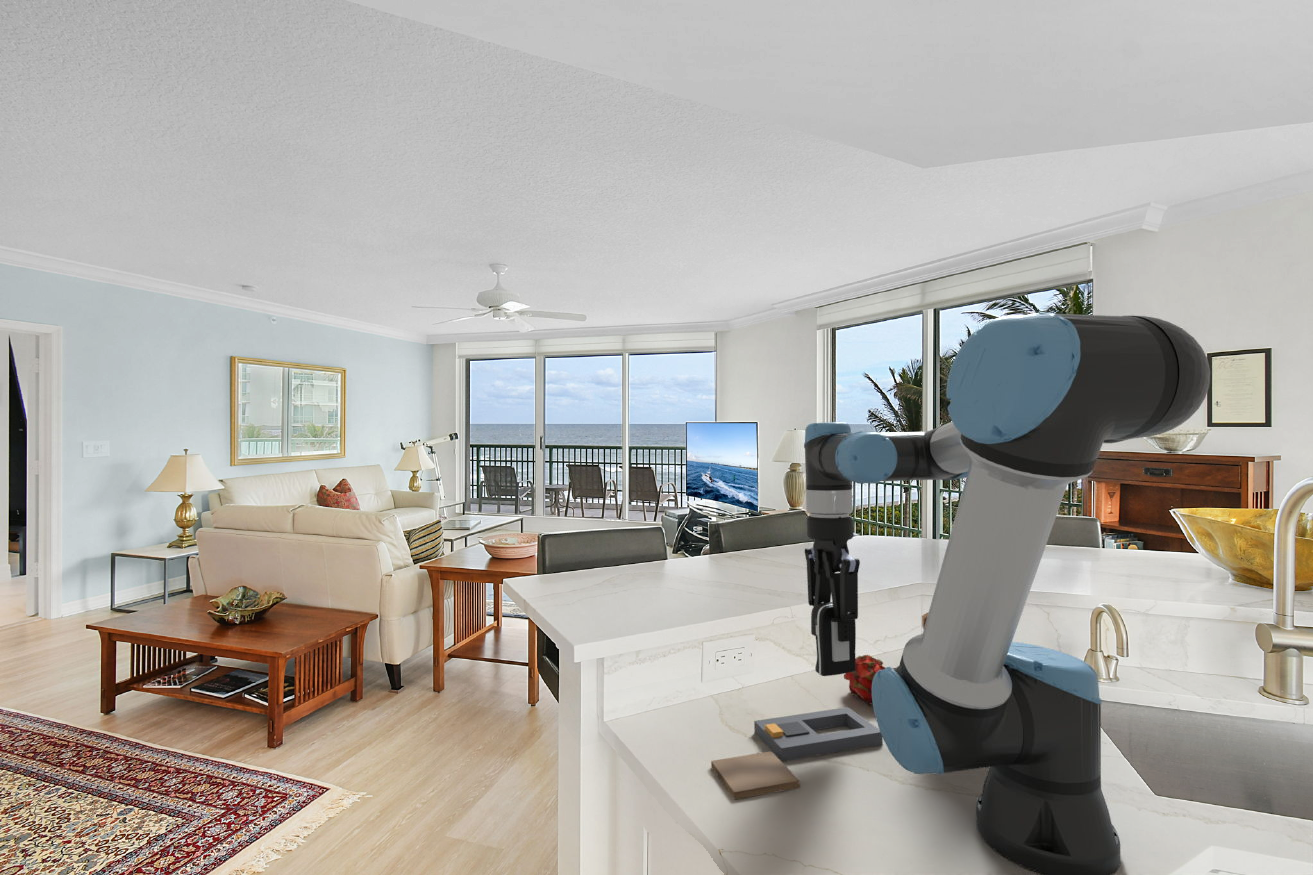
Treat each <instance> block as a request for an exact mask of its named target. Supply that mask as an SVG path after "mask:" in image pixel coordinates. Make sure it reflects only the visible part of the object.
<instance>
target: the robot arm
mask: <svg viewBox="0 0 1313 875" xmlns="http://www.w3.org/2000/svg"><path fill="white" fill-rule="evenodd" d="M947 377H948V378H947V384H946V399H948V400H949V401H950V403H949V405H948V406H947V411H948V412H947V413H948V414H949V418H950V420H951V422H950V421H949V422H948V423H945V424H943V425H941V426H938V427H936V428H933V429H930V430H926V431H897V432H896V431H895V432H894V431H892V432H890V431H888V432H886V431H885V432H884V431H881V432H880V431H879V432H874V431H855V432H853V433H852V430H851V428H852V427H851V425H850V424H849V423H847V422H842V421H841V422H840V421H837V422H834V421H833V422H831V421H830V422H828V421H827V422H812V423H808V424H807V425H806V427H805V431H804V443H803V448H804V458H805V459H804V460H805V462H804V464H805V506H806V507H805V508H806V513H807V514H809V515H808V516H807V517H806V536H807V537H808V538H809V539H810V540H814V541H813V544H812V545H813V546H812V547H808V548H804V555H805V561H806V576H807V577H806V580H807V600H808V602H807V604H808V605H809V606H811V607H812V608H813V607H814V606H815V605H817V604H820V603H827V602H832V603H833V610H834V618H830V619H831V627H832V660H833V661H834V662H837V661H845V660H849V621H850V620H853V619H855V620H858V617H859V588H858V587H859V576H858V575H859V569H860V564H861V562H860V559H859V558H853V556H851V555H850V550H849V547H848V541H849V540H852V539H853V538H854V537H855V536H854V535H855V534H854V517H852V516H851V514H852V513H853V511H854V510H853V509H854V506H853V498H854V496H853V483H856V484H861V485H863V484H876V483H877V484H878V483H880V482H901V481H906V482H907V481H932V480H933V481H934V480H935V481H938V480H939V481H940V480H941V481H954V480H957V479H958V480H960V479H965V481H964V483H963V484H964V485H963V488H962V492H961V495H960V499H959V502H958V506H957V509H956V512H955V517H954V521H953V523H952V528H951V531H950V535H949V538H948V542H947V545H946V547H945V548H946V549H945V554H944V557H943V559H942V563H941V566H940V567H941V568H940V571H939V574H938V578H937V581H936V584H935V585H936V586H935V588H934V592H933V596H932V599H931V603H930V606H929V610H928V612H929V613H928V612H927V613H928V616H927V620H926V624H925V627H924V629H923V632H922V633H920V634H917V635H915V636H914V637H912V638H910V639H909V640H908V641H907V642H906V643H905V645H904V648H903V651H902V655H901V658H900V661H899V665H898V666H896V667H894V668H893V667H891V666H886V667H885V669H883V670H879V671H878V672H877V673H876V674H875V676H874V678H873V682H872V702H873V705H872V707H873V711H874V712H873V713H874V717H875V719H876V723H877V727H878V729H879V730H880V732H881V734H882V739H883V741H884V743H885V745H886V747H887V749H888V751H889V753H890V754H891V756H892V757H893V758H894V760H895V761H896V762H897V763H898V764H899V765H900V766H901V767H902V768H903V769H904V770H906V771H908V772H910V773H912V774H913V773H914V774H916V775H923V774H924V775H927V774H935V775H938V776H942V775H943V774H944V773H951V772H952V773H954V772H961V771H969V770H977V769H984V768H985V769H986V768H989V769H988V772H987V775H986V778H985V779H984V783H983V787H982V790H981V794H980V795H979V796H978V798H977V802H976V806H975V808H976V809H975V814H976V815H975V819H976V820H975V822H976V828H977V831H978V833H979V835H980V836H981V838H982V839H983V840H984V841H985V843H987V844H988V846H989V847H990V848H992V849H993V850H995V852H997V853H998V854H1000V855H1001V856H1002V857H1005V858H1006V859H1007V860H1009V861H1012V862H1013V863H1015V864H1017V865H1019V866H1022V867H1024V868H1027V869H1028V870H1031V871H1034V872H1036V873H1039V874H1043V875H1114V874H1116V872H1117V871H1118V870H1119V868H1120V866H1121V863H1122V862H1121V858H1122V857H1121V841H1120V837H1119V835H1118V831H1117V830H1116V828H1115V825H1113V824H1112V823H1113V822H1112V819H1111V815H1110V812H1109V808H1108V805H1107V802H1106V799H1105V796H1104V794H1103V791H1102V777H1101V776H1102V775H1101V774H1102V765H1101V763H1102V760H1101V759H1102V758H1101V757H1102V756H1101V755H1102V754H1101V752H1102V751H1101V750H1102V748H1101V747H1102V744H1101V743H1102V741H1101V738H1102V737H1101V734H1102V733H1101V732H1102V729H1101V728H1102V727H1101V726H1102V725H1101V724H1102V723H1101V721H1102V720H1101V716H1102V715H1101V714H1102V713H1101V712H1102V711H1101V709H1102V706H1101V705H1102V703H1103V702H1102V699H1101V698H1100V685H1099V678H1098V674H1097V672H1096V671H1095V669H1094V668H1093V666H1092V665H1090V664H1088V663H1087V662H1086V661H1084V660H1082V659H1080V658H1078V657H1076V656H1073V655H1071V654H1069V653H1067V652H1066V653H1065V652H1062V651H1059V650H1055V649H1053V648H1049V647H1046V646H1045V647H1044V646H1040V645H1036V644H1031V643H1024V642H1019V641H1013V640H1014V637H1015V634H1016V631H1017V629H1018V625H1019V623H1020V620H1021V616H1022V614H1023V611H1024V609H1025V606H1026V604H1027V600H1028V597H1029V594H1030V591H1031V588H1032V586H1033V583H1034V580H1035V577H1036V574H1037V571H1038V569H1039V566H1040V564H1041V560H1042V558H1043V555H1044V551H1045V550H1046V546H1047V543H1048V540H1049V538H1050V536H1051V535H1050V534H1051V532H1052V530H1053V527H1054V523H1055V520H1056V518H1057V516H1058V512H1059V509H1060V506H1061V504H1062V501H1063V498H1064V495H1065V492H1066V490H1067V486H1068V485H1069V484H1071V483H1074V482H1076V481H1080V480H1082V479H1085V478H1087V477H1089V476H1090V475H1092V473H1093V471H1094V468H1095V466H1096V462H1097V461H1098V458H1099V455H1100V452H1101V449H1102V447H1103V445H1104V444H1106V445H1107V444H1115V443H1120V442H1124V441H1128V440H1134V439H1139V438H1140V439H1143V438H1148V437H1153V436H1159V435H1161V434H1164V433H1167V432H1170V431H1173V430H1174V429H1176V428H1178V427H1179V426H1181V425H1183V424H1185V422H1186V421H1188V420H1189V419H1191V418H1192V416H1193V415H1194V414H1195V413H1196V412H1197V411H1198V410H1199V409H1200V407H1201V406H1202V404H1203V403H1204V401H1205V399H1206V397H1207V394H1208V391H1209V388H1210V382H1211V369H1210V364H1209V359H1208V358H1207V355H1206V353H1205V351H1204V349H1203V347H1202V346H1201V344H1200V343H1199V342H1198V341H1197V339H1196V338H1195V337H1194V336H1192V335H1191V334H1190V333H1188V331H1186V330H1185V329H1183V328H1182V327H1181V326H1179V325H1176V324H1174V323H1172V322H1170V321H1167V320H1164V319H1161V318H1158V317H1151V316H1147V315H1146V316H1145V315H1100V314H1099V315H1098V314H1097V315H1096V314H1075V313H1074V314H1072V313H1070V314H1067V313H1048V312H1046V311H1045V312H1044V311H1042V312H1033V313H1030V314H1024V315H1023V314H1016V315H1007V316H1006V315H1005V316H1001V317H997V318H993V319H992V320H990V321H988V322H986V323H985V324H984V325H983V326H982V327H980V328H978V329H977V330H975V331H973V332H972V334H970V336H969V337H968V338H967V339H966V340H965V341H964V343H963V344H962V345H961V347H960V348H959V350H958V351H957V354H956V355H955V358H954V360H953V362H952V364H951V367H950V370H949V374H948V376H947Z"/></svg>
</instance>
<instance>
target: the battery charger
mask: <svg viewBox="0 0 1313 875" xmlns="http://www.w3.org/2000/svg"><path fill="white" fill-rule="evenodd" d="M830 618H834V610H833V603H832V601H830V602H827V603H820V604H817V605H815V606H814V607H813V606H812V609H811V613H810V620H811V621H810V628H811V629H810V633H811V635H812V636H814V637H815V643H816V644H815V645H816V646H815V647H816V664H815V672H816V673H817V674H819V676H822V677H829V676H830V677H831V676H838V675H844V674H845V673H849V672H853V671H856V658H857V657H856V644H857V643H856V640H857V638H856V637H857V636H856V634H857V633H856V629H857V628H856V626H857V625H856V619H853V620H850V621H849V660H845V661H837V662H834V661H833V660H832V627H831V619H830Z"/></svg>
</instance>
